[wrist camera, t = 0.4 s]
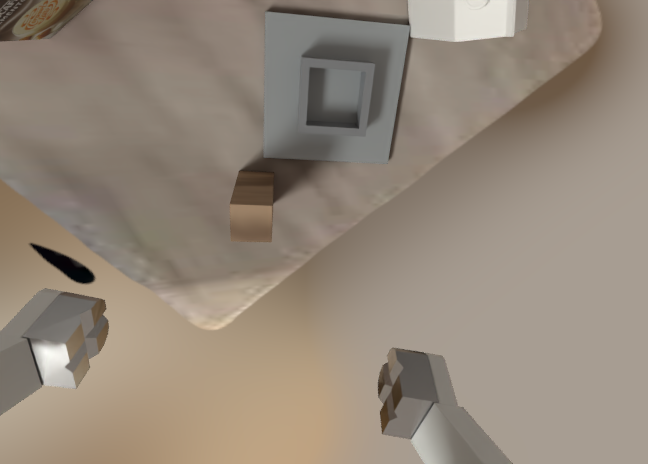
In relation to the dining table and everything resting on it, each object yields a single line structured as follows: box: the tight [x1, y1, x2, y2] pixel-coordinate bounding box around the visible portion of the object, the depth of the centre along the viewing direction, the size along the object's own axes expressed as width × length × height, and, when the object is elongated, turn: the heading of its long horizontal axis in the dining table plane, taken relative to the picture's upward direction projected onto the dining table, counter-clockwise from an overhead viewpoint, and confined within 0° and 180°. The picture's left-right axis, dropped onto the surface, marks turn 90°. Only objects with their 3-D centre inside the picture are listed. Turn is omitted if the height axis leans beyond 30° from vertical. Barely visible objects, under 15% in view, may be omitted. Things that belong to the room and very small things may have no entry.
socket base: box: [264, 11, 410, 164], centre depth 51 cm, size 18×18×4 cm
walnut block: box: [230, 171, 274, 242], centre depth 53 cm, size 5×5×12 cm
